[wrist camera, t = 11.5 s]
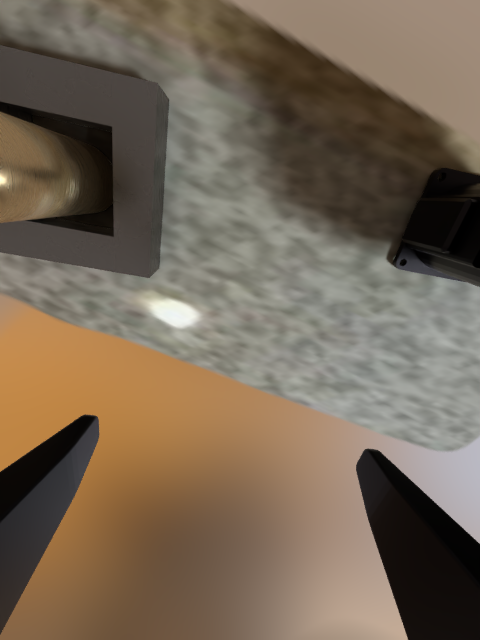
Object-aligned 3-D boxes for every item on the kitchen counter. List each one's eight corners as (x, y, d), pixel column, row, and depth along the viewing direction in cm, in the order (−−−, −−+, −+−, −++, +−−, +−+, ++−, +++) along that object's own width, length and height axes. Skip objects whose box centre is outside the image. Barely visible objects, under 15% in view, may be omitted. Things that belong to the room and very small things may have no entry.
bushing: (117, 150, 16) (-5, 100, 8) (117, 218, 18) (16, 235, 10) (49, 135, 16) (-153, 66, 8) (56, 206, 17) (-104, 213, 9)
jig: (169, 99, 15) (157, 83, 13) (159, 268, 19) (149, 277, 17) (-18, 55, 14) (-65, 29, 12) (14, 242, 18) (-17, 249, 16)
